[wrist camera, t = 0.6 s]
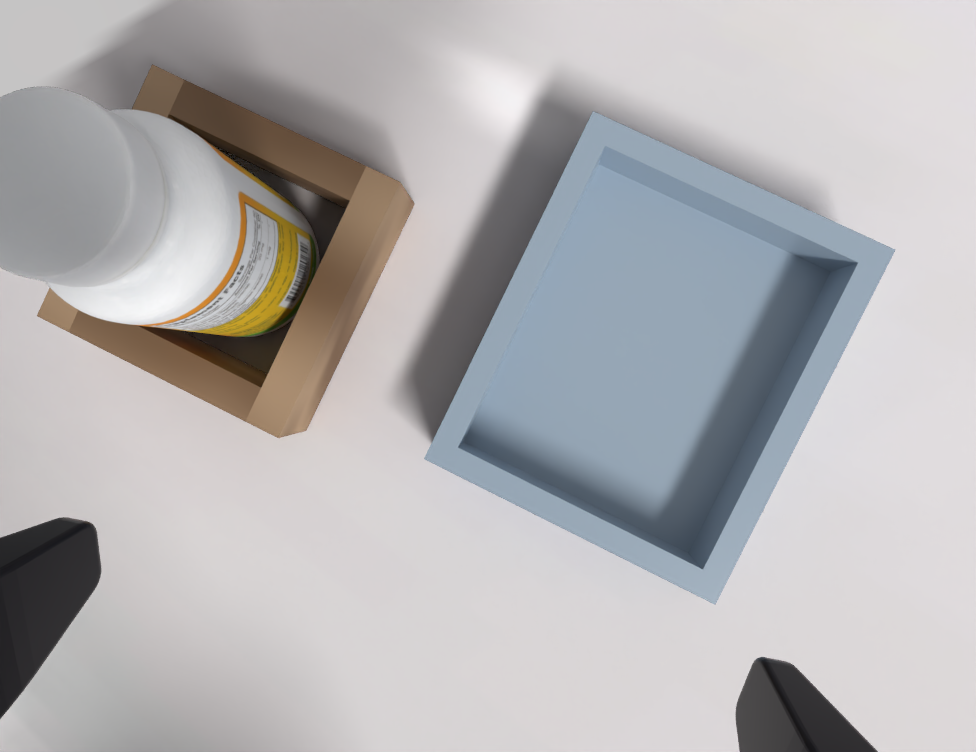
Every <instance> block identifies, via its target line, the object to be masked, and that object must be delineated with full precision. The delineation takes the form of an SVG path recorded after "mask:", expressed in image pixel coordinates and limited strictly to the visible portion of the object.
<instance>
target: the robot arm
mask: <svg viewBox="0 0 976 752" xmlns="http://www.w3.org/2000/svg"><path fill="white" fill-rule="evenodd" d="M100 576H101V562H100V554H99V546H98V537H97V531H96V528H95V527H94V525H93V524H92V523H90V522H87V521H82V520H77V519H72V518H64V517H63V518H57V519H54V520H51V521H48V522H45V523H42V524H40V525H37V526H34V527H31V528H28V529H25V530H22V531H19V532H16V533H13V534H10V535H7V536H4V537H1V538H0V719H1V718H2V716H3V715H4V714H5V713H6V712H7V710H8V709H9V708H10V707H11V705H12V704H13V703H14V702H15V700H16V699H17V698H18V697H19V695H20V694H21V693H22V692H23V690H24V689H25V688H26V686H27V685H28V684H29V682H30V681H31V680H32V678H33V677H34V676H35V674H36V673H37V671H38V670H39V668H40V667H41V666H42V664H43V663H44V661H45V660H46V658H47V657H48V656H49V654H50V653H51V651H52V650H53V648H54V647H55V646H56V644H57V643H58V641H59V640H60V638H61V637H62V636H63V634H64V633H65V631H66V630H67V628H68V627H69V626H70V624H71V623H72V621H73V620H74V618H75V617H76V616H77V614H78V613H79V611H80V610H81V608H82V607H83V606H84V604H85V603H86V601H87V600H88V598H89V597H90V596H91V594H92V593H93V591H94V590H95V588H96V586H97V584H98V582H99V579H100ZM736 726H737V734H738V742H739V749H740V752H878V751H877V750H876V749H875V748H874V747H873V746H872V745H871V744H870V743H869V742H868V741H867V740H866V739H865V738H864V737H863V736H862V735H861V734H860V733H859V732H858V731H857V730H856V729H855V728H854V727H853V726H852V725H851V724H850V722H849V721H848V720H847V719H846V718H845V717H844V716H843V715H842V714H841V713H840V712H839V711H838V710H837V709H836V708H835V707H834V706H833V705H832V704H831V703H830V702H829V701H828V700H827V699H826V698H825V697H824V696H823V695H822V694H821V693H820V692H819V691H818V690H817V688H816V687H815V686H814V685H813V684H812V683H811V682H810V681H809V680H808V679H807V678H806V677H805V676H804V675H803V674H802V673H801V672H800V671H799V670H798V669H797V668H796V667H795V666H794V665H792V664H791V663H788V662H786V661H781V660H776V659H771V658H766V657H760V658H757V659H756V660H755V661H754V663H753V664H752V667H751V669H750V671H749V674H748V676H747V679H746V681H745V684H744V686H743V689H742V691H741V694H740V696H739V699H738V702H737V706H736Z"/></svg>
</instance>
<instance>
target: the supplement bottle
mask: <svg viewBox="0 0 976 752" xmlns="http://www.w3.org/2000/svg"><path fill="white" fill-rule="evenodd" d="M319 263H320V261H319V250H318V245H317V241H316V238H315V235H314V233H313V230H312V228H311V226H310V224H309V223H308V221H307V220H306V218H305V217H304V215H303V214H302V213H301V212H300V211H299V210H298V209H297V208H296V207H295V206H294V205H293V204H292V203H291V202H290V201H289V200H287V199H286V198H285V197H283V196H282V195H281V194H279V193H278V192H276V191H275V190H274V189H272V188H271V187H269V186H268V185H266V184H265V183H264V182H262V181H261V180H259V179H258V178H257V177H255V176H254V175H252V174H251V173H250V172H248V171H247V170H245V169H244V168H242V167H241V166H240V165H238V164H237V163H236V162H234V161H233V160H232V159H230V158H229V157H227V156H226V155H225V154H223V153H222V152H221V151H219V150H218V149H216V148H215V147H214V146H212V145H211V144H210V143H208V142H207V141H205V140H204V139H203V138H201V137H200V136H198V135H197V134H195V133H194V132H192V131H190V130H189V129H187V128H185V127H184V126H182V125H180V124H179V123H177V122H175V121H173V120H171V119H168V118H166V117H163V116H161V115H158V114H154V113H151V112H146V111H140V110H131V109H116V110H107V109H105V108H104V107H102V106H100V105H99V104H97V103H95V102H94V101H92V100H90V99H88V98H86V97H84V96H83V95H80V94H78V93H75V92H72V91H69V90H66V89H61V88H56V87H30V88H25V89H21V90H17V91H14V92H12V93H10V94H7V95H4V96H2V97H0V267H1V268H2V269H4V270H6V271H9V272H11V273H14V274H16V275H19V276H23V277H26V278H31V279H36V280H40V281H45V282H46V284H47V285H48V286H49V287H50V288H51V289H52V290H53V291H54V292H55V293H56V294H57V295H58V296H59V297H61V298H62V299H63V300H64V301H66V302H67V303H68V304H70V305H71V306H73V307H74V308H76V309H78V310H80V311H82V312H84V313H86V314H88V315H90V316H93V317H96V318H99V319H103V320H106V321H111V322H116V323H122V324H130V325H138V326H147V327H157V328H166V329H174V330H182V331H190V332H199V333H207V334H215V335H223V336H232V337H252V336H259V335H263V334H267V333H270V332H273V331H275V330H277V329H279V328H281V327H283V326H285V325H286V324H288V323H289V322H290V321H292V320H293V319H294V318H295V316H296V314H297V311H298V309H299V307H300V305H301V303H302V301H303V299H304V297H305V295H306V292H307V290H308V288H309V286H310V284H311V282H312V280H313V278H314V276H315V273H316V271H317V269H318V267H319Z"/></svg>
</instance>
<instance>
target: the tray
mask: <svg viewBox="0 0 976 752" xmlns="http://www.w3.org/2000/svg"><path fill="white" fill-rule="evenodd" d="M894 252H895V249H892V248H890V247H888V246H886V245H884V244H881V243H879V242H877V241H875V240H873V239H871V238H868V237H866V236H864V235H862V234H860V233H858V232H855V231H853V230H851V229H849V228H847V227H844V226H842V225H840V224H838V223H836V222H834V221H831V220H829V219H827V218H825V217H823V216H820V215H818V214H816V213H814V212H812V211H810V210H807V209H805V208H803V207H801V206H799V205H797V204H794V203H792V202H790V201H788V200H786V199H783V198H781V197H779V196H777V195H775V194H773V193H770V192H768V191H766V190H764V189H762V188H759V187H757V186H755V185H753V184H751V183H749V182H746V181H744V180H742V179H740V178H738V177H736V176H733V175H731V174H729V173H727V172H725V171H722V170H720V169H718V168H716V167H714V166H712V165H709V164H707V163H705V162H703V161H701V160H698V159H696V158H694V157H692V156H690V155H688V154H685V153H683V152H681V151H679V150H677V149H675V148H672V147H670V146H668V145H666V144H664V143H661V142H659V141H657V140H655V139H653V138H651V137H648V136H646V135H644V134H642V133H640V132H637V131H635V130H633V129H631V128H629V127H627V126H624V125H622V124H620V123H618V122H616V121H613V120H611V119H609V118H607V117H605V116H603V115H600V114H598V113H596V112H594V111H593V112H592V114H591V116H590V118H589V121H588V123H587V125H586V127H585V129H584V131H583V133H582V135H581V137H580V139H579V141H578V143H577V145H576V147H575V149H574V151H573V153H572V156H571V158H570V160H569V162H568V164H567V166H566V168H565V170H564V172H563V174H562V176H561V178H560V180H559V182H558V184H557V186H556V188H555V190H554V193H553V195H552V197H551V199H550V201H549V203H548V205H547V207H546V209H545V211H544V213H543V215H542V217H541V219H540V221H539V223H538V225H537V228H536V230H535V232H534V234H533V236H532V238H531V240H530V242H529V244H528V246H527V248H526V250H525V252H524V254H523V256H522V258H521V260H520V263H519V265H518V267H517V269H516V271H515V273H514V275H513V277H512V279H511V281H510V283H509V285H508V287H507V289H506V291H505V293H504V295H503V298H502V300H501V302H500V304H499V306H498V308H497V310H496V312H495V314H494V316H493V318H492V320H491V322H490V324H489V326H488V328H487V330H486V333H485V335H484V337H483V339H482V341H481V343H480V345H479V347H478V349H477V351H476V353H475V355H474V357H473V359H472V361H471V363H470V365H469V367H468V370H467V372H466V374H465V376H464V378H463V380H462V382H461V384H460V386H459V388H458V390H457V392H456V394H455V396H454V398H453V400H452V402H451V405H450V407H449V409H448V411H447V413H446V415H445V417H444V419H443V421H442V423H441V425H440V427H439V429H438V431H437V433H436V435H435V437H434V440H433V442H432V444H431V446H430V448H429V450H428V452H427V454H426V456H425V458H424V459H425V460H427V461H429V462H431V463H433V464H435V465H437V466H439V467H441V468H443V469H445V470H447V471H449V472H451V473H453V474H455V475H457V476H459V477H461V478H463V479H465V480H467V481H469V482H471V483H473V484H475V485H477V486H479V487H481V488H483V489H485V490H487V491H489V492H491V493H493V494H495V495H497V496H499V497H501V498H503V499H505V500H507V501H509V502H511V503H513V504H515V505H517V506H519V507H521V508H523V509H525V510H527V511H529V512H531V513H533V514H535V515H537V516H539V517H541V518H543V519H545V520H547V521H549V522H551V523H553V524H555V525H557V526H559V527H561V528H563V529H565V530H567V531H569V532H571V533H573V534H575V535H577V536H579V537H581V538H583V539H585V540H587V541H589V542H591V543H593V544H595V545H597V546H599V547H601V548H603V549H605V550H607V551H609V552H611V553H613V554H615V555H617V556H619V557H621V558H623V559H625V560H627V561H629V562H631V563H633V564H635V565H637V566H639V567H641V568H643V569H645V570H647V571H649V572H651V573H653V574H655V575H657V576H659V577H661V578H663V579H665V580H667V581H669V582H671V583H673V584H675V585H677V586H679V587H681V588H683V589H685V590H687V591H689V592H691V593H693V594H695V595H697V596H699V597H701V598H703V599H705V600H707V601H709V602H711V603H713V604H716V602H717V600H718V598H719V596H720V594H721V592H722V590H723V588H724V586H725V584H726V582H727V580H728V578H729V576H730V575H731V573H732V571H733V569H734V567H735V565H736V563H737V561H738V559H739V557H740V555H741V553H742V551H743V549H744V547H745V545H746V543H747V541H748V539H749V537H750V535H751V533H752V531H753V529H754V527H755V525H756V523H757V521H758V519H759V517H760V515H761V513H762V512H763V510H764V508H765V506H766V504H767V502H768V500H769V498H770V496H771V494H772V492H773V490H774V488H775V486H776V484H777V482H778V480H779V478H780V476H781V474H782V472H783V470H784V468H785V466H786V464H787V462H788V460H789V458H790V456H791V454H792V452H793V450H794V449H795V447H796V445H797V443H798V441H799V439H800V437H801V435H802V433H803V431H804V429H805V427H806V425H807V423H808V421H809V419H810V417H811V415H812V413H813V411H814V409H815V407H816V405H817V403H818V401H819V399H820V397H821V395H822V393H823V391H824V389H825V387H826V386H827V384H828V382H829V380H830V378H831V376H832V374H833V372H834V370H835V368H836V366H837V364H838V362H839V360H840V358H841V356H842V354H843V352H844V350H845V348H846V346H847V344H848V342H849V340H850V338H851V336H852V334H853V332H854V330H855V328H856V326H857V324H858V322H859V321H860V319H861V317H862V315H863V313H864V311H865V309H866V307H867V305H868V303H869V301H870V299H871V297H872V295H873V293H874V291H875V289H876V287H877V285H878V283H879V281H880V279H881V277H882V275H883V273H884V271H885V269H886V267H887V265H888V263H889V261H890V259H891V258H892V256H893V254H894Z"/></svg>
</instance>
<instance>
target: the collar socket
mask: <svg viewBox="0 0 976 752" xmlns="http://www.w3.org/2000/svg"><path fill="white" fill-rule="evenodd" d="M132 110H140V111H146V112H151V113H154V114H158V115H161V116H163V117H166V118H168V119H171V120H173V121H175V122H177V123H179V124H180V125H182V126H184V127H185V128H187V129H189V130H190V131H192V132H194V133H195V134H197V135H198V136H200V137H201V138H203V139H204V140H205V141H207V142H208V143H211V144H213V145H215V146H217V147H219V148H221V149H223V150H225V151H227V152H229V153H231V154H233V155H236V156H238V157H240V158H242V159H244V160H246V161H248V162H250V163H252V164H254V165H256V166H258V167H261V168H263V169H265V170H267V171H269V172H271V173H273V174H275V175H277V176H279V177H281V178H283V179H286V180H288V181H290V182H292V183H294V184H296V185H298V186H300V187H302V188H304V189H306V190H308V191H311V192H313V193H315V194H317V195H319V196H321V197H323V198H325V199H327V200H329V201H331V202H333V203H336V204H338V205H340V206H342V207H344V208H346V210H345V212H344V214H343V217H342V219H341V221H340V223H339V225H338V227H337V229H336V231H335V233H334V235H333V238H332V240H331V242H330V244H329V246H328V248H327V250H326V252H325V254H324V257H323V259H322V261H321V263H320V265H319V267H318V269H317V271H316V273H315V276H314V278H313V280H312V282H311V284H310V286H309V288H308V290H307V292H306V295H305V297H304V299H303V301H302V303H301V305H300V307H299V309H298V311H297V314H296V316H295V318H294V320H293V322H292V324H291V326H290V328H289V330H288V333H287V335H286V337H285V339H284V341H283V343H282V345H281V347H280V349H279V352H278V354H277V356H276V358H275V360H274V362H273V364H272V366H271V368H270V371H269V373H268V374H266V373H264V372H262V371H260V370H258V369H256V368H254V367H252V366H250V365H248V364H246V363H244V362H242V361H240V360H238V359H236V358H234V357H232V356H230V355H228V354H226V353H224V352H222V351H220V350H218V349H216V348H214V347H212V346H210V345H208V344H206V343H204V342H202V341H200V340H198V339H196V338H194V337H192V336H190V335H188V334H186V333H184V332H182V331H180V330H174V329H166V328H157V327H147V326H138V325H130V324H122V323H116V322H111V321H106V320H103V319H99V318H96V317H93V316H90V315H88V314H86V313H84V312H82V311H80V310H78V309H76V308H74V307H73V306H71V305H70V304H68V303H67V302H66V301H64V300H63V299H62V298H61V297H59V296H58V295H57V294H56V293H55V292H54V291H53V290H52V289H51V288H49V291H48V293H47V295H46V297H45V299H44V301H43V304H42V306H41V308H40V310H39V312H38V315H37V316H38V317H40V318H42V319H44V320H46V321H48V322H50V323H52V324H54V325H56V326H58V327H60V328H62V329H64V330H66V331H68V332H70V333H72V334H74V335H76V336H78V337H80V338H82V339H83V340H85V341H87V342H89V343H91V344H93V345H95V346H97V347H99V348H101V349H103V350H105V351H107V352H109V353H111V354H113V355H115V356H117V357H119V358H121V359H123V360H125V361H127V362H129V363H131V364H133V365H135V366H137V367H139V368H141V369H143V370H145V371H147V372H149V373H151V374H153V375H155V376H157V377H159V378H161V379H163V380H165V381H167V382H168V383H170V384H172V385H174V386H176V387H178V388H180V389H182V390H184V391H186V392H188V393H190V394H192V395H194V396H196V397H198V398H200V399H202V400H204V401H206V402H208V403H210V404H212V405H214V406H216V407H218V408H220V409H222V410H224V411H226V412H228V413H230V414H232V415H234V416H236V417H238V418H240V419H242V420H244V421H246V422H248V423H250V424H251V425H253V426H255V427H257V428H259V429H261V430H263V431H265V432H267V433H269V434H271V435H273V436H275V437H277V438H280V437H284V436H288V435H292V434H295V433H299V432H303V431H306V430H307V428H308V426H309V424H310V422H311V420H312V417H313V415H314V413H315V411H316V409H317V407H318V405H319V403H320V401H321V399H322V397H323V394H324V392H325V390H326V388H327V386H328V384H329V382H330V380H331V378H332V376H333V374H334V371H335V369H336V367H337V365H338V363H339V361H340V359H341V357H342V355H343V353H344V351H345V348H346V346H347V344H348V342H349V340H350V338H351V336H352V334H353V332H354V330H355V327H356V325H357V323H358V321H359V319H360V317H361V315H362V313H363V311H364V309H365V307H366V304H367V302H368V300H369V298H370V296H371V294H372V292H373V290H374V288H375V286H376V284H377V281H378V279H379V277H380V275H381V273H382V271H383V269H384V267H385V265H386V263H387V261H388V258H389V256H390V254H391V252H392V250H393V248H394V246H395V244H396V242H397V240H398V238H399V235H400V233H401V231H402V229H403V227H404V225H405V223H406V221H407V219H408V217H409V215H410V212H411V210H412V208H413V206H414V202H413V201H412V199H411V198H410V196H409V195H408V193H407V192H406V190H405V189H404V187H403V186H402V184H401V183H400V182H399V181H397V180H395V179H392V178H390V177H388V176H386V175H384V174H382V173H380V172H378V171H376V170H374V169H371V168H369V167H367V166H365V165H363V164H361V163H359V162H357V161H355V160H352V159H350V158H348V157H346V156H344V155H342V154H340V153H338V152H336V151H333V150H331V149H329V148H327V147H325V146H323V145H321V144H319V143H317V142H315V141H312V140H310V139H308V138H306V137H304V136H302V135H300V134H298V133H296V132H293V131H291V130H289V129H287V128H285V127H283V126H281V125H279V124H277V123H275V122H272V121H270V120H268V119H266V118H264V117H262V116H260V115H258V114H256V113H253V112H251V111H249V110H247V109H245V108H243V107H241V106H239V105H237V104H234V103H232V102H230V101H228V100H226V99H224V98H222V97H220V96H218V95H216V94H213V93H211V92H209V91H207V90H205V89H203V88H201V87H199V86H197V85H194V84H192V83H190V82H188V81H186V80H184V79H182V78H180V77H178V76H175V75H173V74H171V73H169V72H167V71H165V70H163V69H161V68H159V67H157V66H154V65H152V66H151V68H150V70H149V72H148V75H147V77H146V79H145V81H144V83H143V86H142V88H141V90H140V92H139V94H138V96H137V99H136V101H135V103H134V105H133V107H132Z"/></svg>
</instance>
